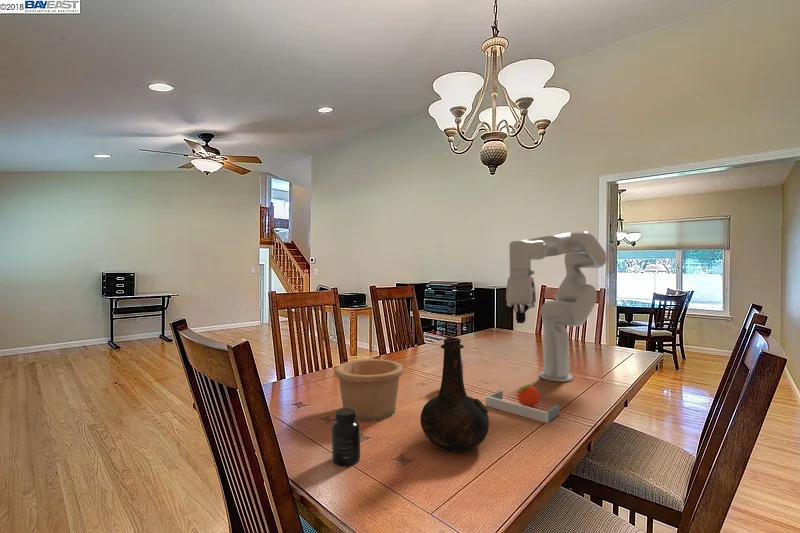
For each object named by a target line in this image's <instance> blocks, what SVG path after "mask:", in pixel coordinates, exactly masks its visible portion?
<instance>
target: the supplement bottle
mask: <svg viewBox="0 0 800 533" xmlns="http://www.w3.org/2000/svg"><path fill="white" fill-rule="evenodd" d="M334 418H335V421H334V423H333V424H332V426H331V457H332V462H333V464H335V465H337V466H338V465H339V466H338V467H351V466H354V465H356V464H357V463H358V462H359V461H360V459H361V427H360V426H361V425H360V423H359V421H358V420H355V419H356V416H355V410H354V409H351V408H343V407H342V408H340V409H338V410H336V411H335V417H334ZM355 463H356V464H355ZM353 464H354V465H353ZM350 465H351V466H350Z"/></svg>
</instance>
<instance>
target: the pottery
mask: <svg viewBox="0 0 800 533" xmlns="http://www.w3.org/2000/svg"><path fill="white" fill-rule="evenodd" d="M403 373H404V366H403V364H401V363H399V362H397V361H393V360H390V359H389V360H388V359H381V358H367V359H366V358H364V359H356V360H350V361H346V362H343V363H340V364H338V365H336V367H335V369H334V375H335V376H336V377H337V378H338V380H339V382H338V383H339V389H340V397H341V402H342V403H341V404H342V409H343V408H351V409H354V410H355V416H356V421H358V420H363V421H362V422H374V421H373V420H377V421H381V420H385V419H387V417H388V418H390V417H392V416H393V415H394V414H395V413H396V407H397V400H398V399H397V397H398V391H399V390H398V389H399V383H400V377H401V375H403ZM389 416H390V417H389ZM384 418H385V419H384ZM380 419H381V420H380Z"/></svg>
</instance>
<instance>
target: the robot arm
mask: <svg viewBox="0 0 800 533" xmlns="http://www.w3.org/2000/svg"><path fill="white" fill-rule="evenodd" d="M560 255H564V264H565V265H564V266H565V272H566V274H565V277H564V279H563V280H562V282H561V283H560V285H559V286H558V288H557V289H556V292H555V295H554V298H555V300H547V301H546V302H544V303H543V304H542V306H541V308H540V315H541V319H542V325H543V327H542V328H543V371H541V372H540V373H539V377H540V378H541V379H544V380H546V381H550V382H556V383H557V382H559V383H561V382H563V383H566V382H570V381H572V380H573V379H574V377H573V375H572V374H571V373H569V371H570V369H571V365H570V364H569V363H570V362H569V360H570V358H569V356H570V354H569V340H570V339H569V338H570V336H569V333H568V332H569V331H568V330H567V328H566V326H568V327H569V326H570V327H581V326H583V325H584V324H585V323H586V322H587V320H588V317H589V316H590V314H591V312H592V311H593V309H594V307H595V306H596V304H597V299H598V298H597V297H598V293H597V290H596V288H595V287H594V286H593V285H592V284H588V283H587V278H586V276H585V274H584V273H583V271H582V269H583V268H584V269H600V268H602V267H603V266H605V264H606V263H607V253H606V251H605V250H604V248H603V246H602V245H601V244H600V242H599V240H598V239H597V238H596V237H595V235H593V234H592V233H591V232H589V231H574V232H571V231H570V232H562V233H558V234H557V233H556V234H550V235H545V236H540V237H539V236H538V237H535V238H527V239H521V240H512V241H511V242H510V243H509V277H508V279H507V282H506V292H505V296H506V297H505V299H506V306H507V307H510V308H512V309H513V310H514V313H515V320H516V323H517V324H524V323H525V322H526V312H527V311H528V310H529V309H533V308H535V307H536V305H535V304H536V302H537V293H536V284H535V279H534V277H532V275H534V274H535V270H532V267H531V261H539V260H543V259H544V258H546V257H556V256H557V257H558V256H560ZM581 268H582V269H581Z"/></svg>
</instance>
